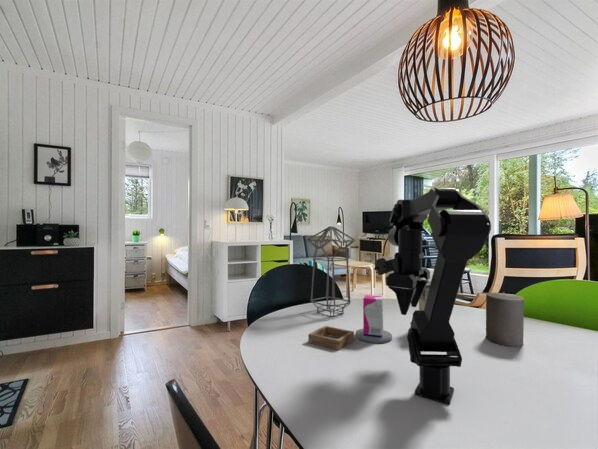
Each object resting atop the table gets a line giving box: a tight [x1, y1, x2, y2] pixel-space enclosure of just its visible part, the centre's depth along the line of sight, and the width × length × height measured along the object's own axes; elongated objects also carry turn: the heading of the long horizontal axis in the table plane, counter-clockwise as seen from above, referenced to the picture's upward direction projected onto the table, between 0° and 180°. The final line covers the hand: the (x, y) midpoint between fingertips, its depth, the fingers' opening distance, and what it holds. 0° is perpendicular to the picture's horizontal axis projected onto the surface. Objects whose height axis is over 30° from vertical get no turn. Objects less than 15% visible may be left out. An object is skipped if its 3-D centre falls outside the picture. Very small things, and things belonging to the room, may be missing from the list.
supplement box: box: [362, 294, 384, 337], centre depth 95 cm, size 6×6×12 cm
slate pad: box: [355, 328, 393, 344], centre depth 95 cm, size 11×11×1 cm
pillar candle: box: [485, 291, 525, 348], centre depth 93 cm, size 10×10×15 cm
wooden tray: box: [307, 325, 355, 351], centre depth 91 cm, size 10×10×2 cm
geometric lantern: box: [306, 226, 357, 318], centre depth 123 cm, size 16×16×35 cm
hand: (408, 310), depth 77 cm, fingers open, 9 cm apart
